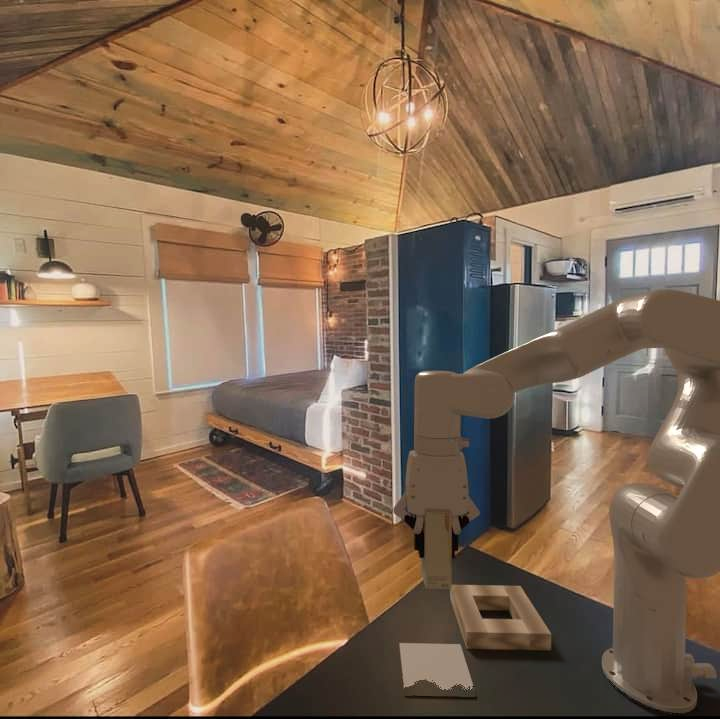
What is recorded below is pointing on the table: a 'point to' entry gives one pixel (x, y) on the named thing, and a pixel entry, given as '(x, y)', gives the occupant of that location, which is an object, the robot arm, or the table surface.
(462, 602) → the holder
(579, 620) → the table surface
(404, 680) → the mat
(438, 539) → the skincare box
